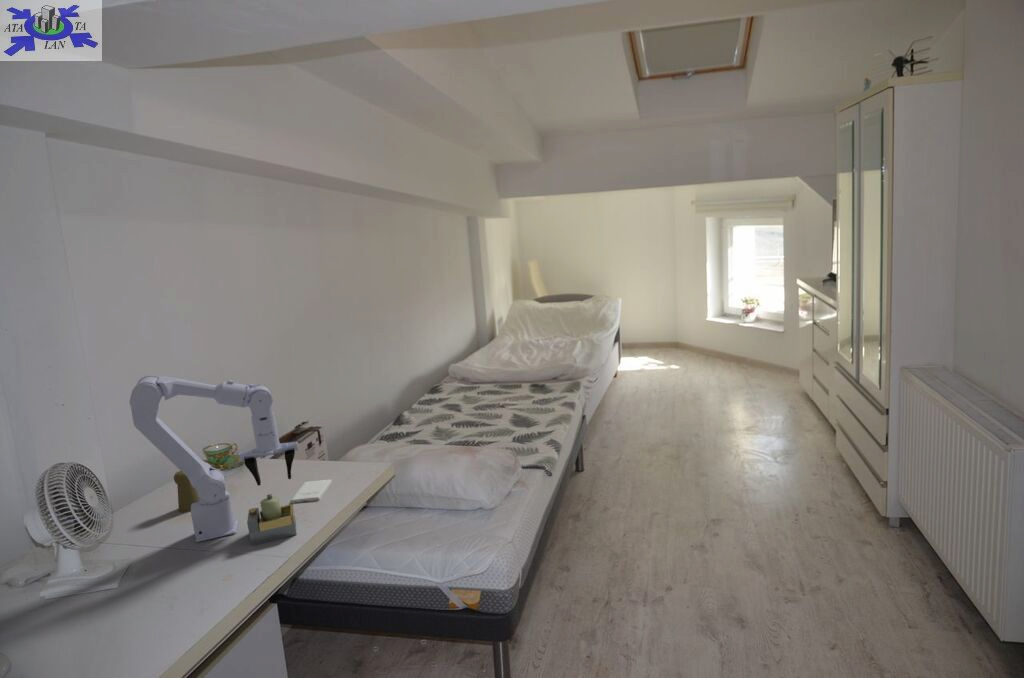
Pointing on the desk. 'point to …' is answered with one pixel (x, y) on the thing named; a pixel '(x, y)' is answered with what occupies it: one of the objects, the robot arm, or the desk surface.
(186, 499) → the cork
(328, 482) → the external hard drive
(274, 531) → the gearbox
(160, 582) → the desk surface
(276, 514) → the spout can
